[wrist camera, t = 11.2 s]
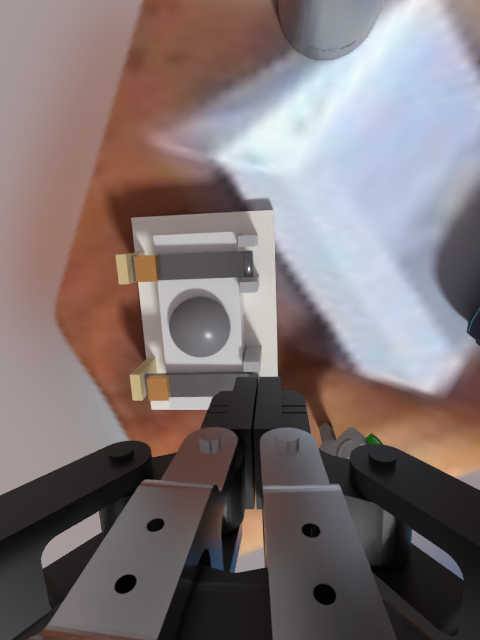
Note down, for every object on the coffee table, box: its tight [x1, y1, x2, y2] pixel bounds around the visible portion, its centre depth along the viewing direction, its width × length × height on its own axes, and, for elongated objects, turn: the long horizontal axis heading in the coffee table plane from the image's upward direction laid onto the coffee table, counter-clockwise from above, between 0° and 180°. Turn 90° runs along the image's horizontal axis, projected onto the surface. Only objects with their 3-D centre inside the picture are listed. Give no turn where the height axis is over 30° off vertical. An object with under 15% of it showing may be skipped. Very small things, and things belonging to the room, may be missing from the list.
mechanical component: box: [319, 422, 383, 459], centre depth 39 cm, size 3×10×10 cm, turn 141°
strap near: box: [131, 251, 254, 282], centre depth 35 cm, size 2×12×2 cm, turn 93°
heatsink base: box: [116, 210, 278, 410], centre depth 39 cm, size 22×15×6 cm
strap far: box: [144, 372, 258, 401], centre depth 37 cm, size 2×12×2 cm, turn 93°
